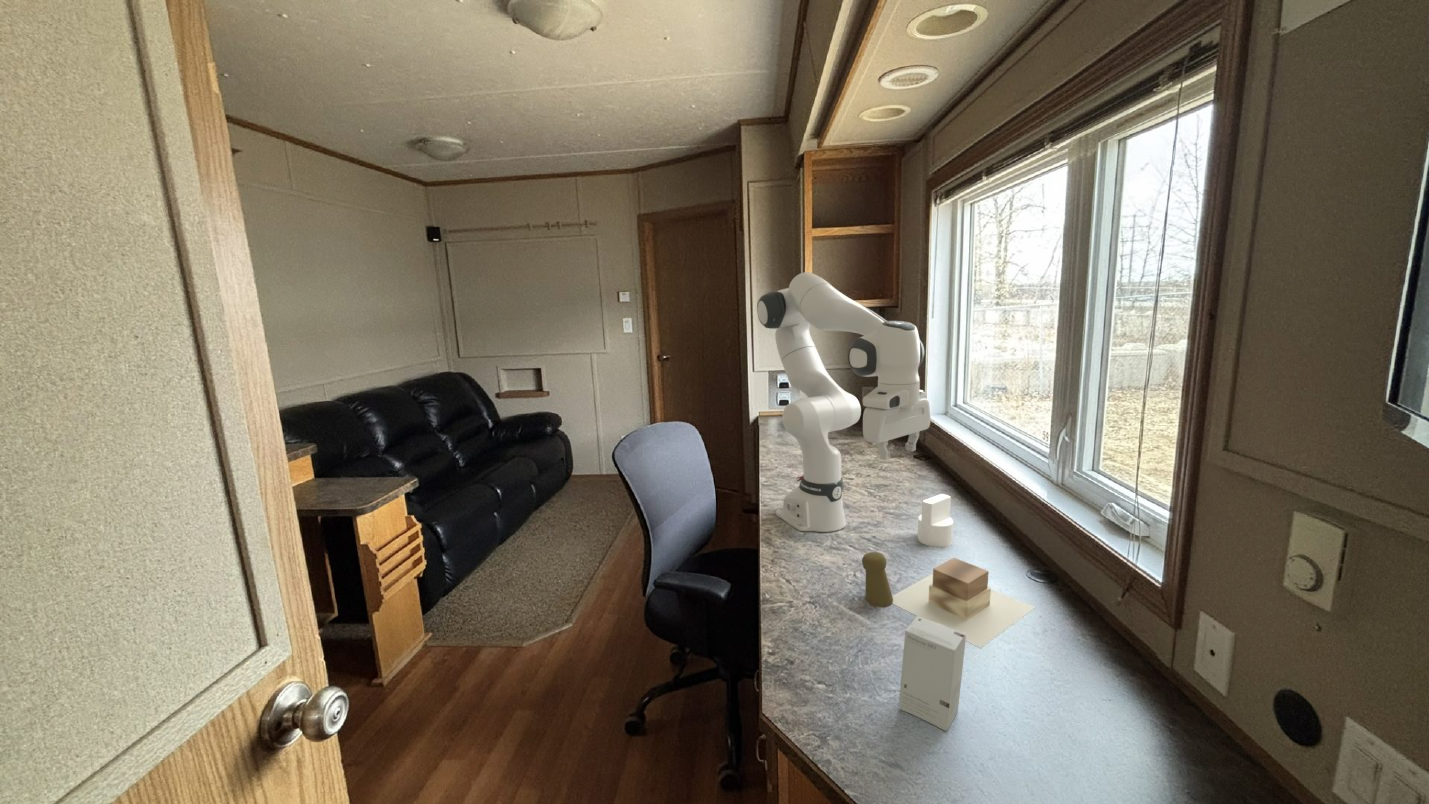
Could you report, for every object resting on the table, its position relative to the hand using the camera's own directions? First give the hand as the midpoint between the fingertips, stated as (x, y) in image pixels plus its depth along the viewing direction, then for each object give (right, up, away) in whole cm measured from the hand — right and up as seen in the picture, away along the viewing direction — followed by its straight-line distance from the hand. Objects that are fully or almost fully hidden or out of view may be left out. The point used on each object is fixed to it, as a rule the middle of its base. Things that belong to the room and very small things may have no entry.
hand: (898, 454), depth 126 cm
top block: (+12, -28, -5) cm, 31 cm away
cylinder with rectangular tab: (+19, -26, +28) cm, 43 cm away
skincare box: (-6, -40, -33) cm, 52 cm away
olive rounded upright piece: (-5, -33, -1) cm, 33 cm away
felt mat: (+12, -33, -4) cm, 35 cm away
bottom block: (+12, -32, -4) cm, 35 cm away
